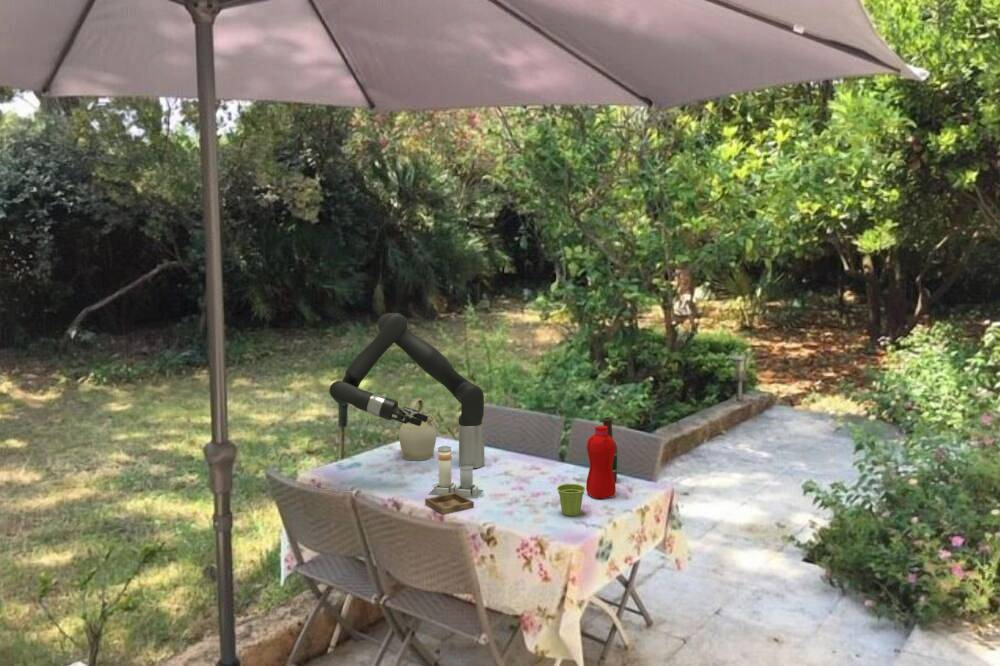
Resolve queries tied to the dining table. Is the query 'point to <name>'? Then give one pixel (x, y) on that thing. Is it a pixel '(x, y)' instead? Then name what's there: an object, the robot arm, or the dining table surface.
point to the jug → (418, 436)
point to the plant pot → (571, 498)
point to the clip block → (457, 489)
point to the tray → (449, 503)
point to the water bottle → (601, 464)
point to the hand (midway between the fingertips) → (424, 421)
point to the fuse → (466, 477)
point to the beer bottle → (608, 423)
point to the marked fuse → (444, 467)
